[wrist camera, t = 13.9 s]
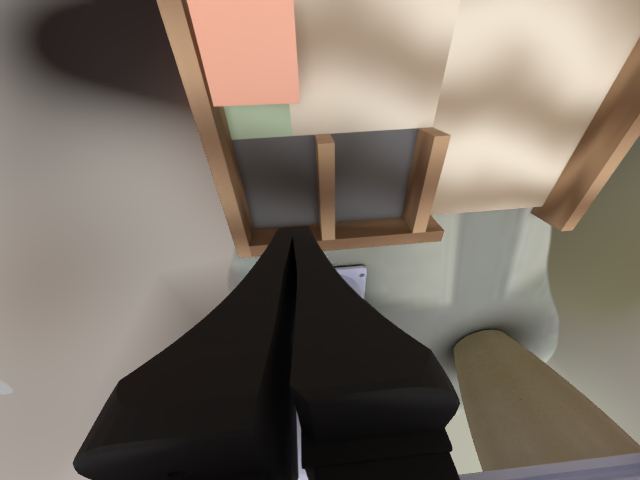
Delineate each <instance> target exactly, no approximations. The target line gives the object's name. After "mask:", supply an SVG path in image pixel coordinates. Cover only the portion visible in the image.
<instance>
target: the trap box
mask: <svg viewBox="0 0 640 480" xmlns="http://www.w3.org/2000/svg"><path fill="white" fill-rule="evenodd" d="M293 1H294V16H295V32H296V47H297V62H298V77H299V92H300V103H289V104H265V105H240V106H215V107H214V105H213V102H212V98H211V94H210V90H209V86H208V82H207V78H206V74H205V70H204V66H203V62H202V58H201V54H200V51H199V47H198V43H197V39H196V35H195V31H194V27H193V23H192V19H191V15H190V11H189V7H188V3H187V0H157V4H158V7H159V9H160V13H161V16H162V19H163V22H164V25H165V28H166V32H167V35H168V38H169V41H170V44H171V47H172V51H173V54H174V57H175V60H176V63H177V66H178V69H179V72H180V75H181V78H182V82H183V85H184V88H185V91H186V94H187V97H188V101H189V104H190V107H191V110H192V113H193V116H194V119H195V123H196V126H197V129H198V132H199V135H200V138H201V141H202V144H203V148H204V151H205V154H206V157H207V160H208V163H209V166H210V169H211V172H212V175H213V179H214V182H215V185H216V188H217V191H218V194H219V198H220V201H221V204H222V207H223V210H224V213H225V216H226V219H227V223H228V226H229V229H230V232H231V235H232V238H233V241H234V245H235V248H236V251H237V254H238V257H239V258H241V257H253V256H261V255H262V254H263V252H264V251H265V249H266V248H267V246H268V245H269V243H270V241H271V240H272V238H273V236H274V234H275V233H276V231H277V230H278V229H279V228H286V227H299V226H310V227H311V229H312V232H313V235H314V237H315V239H316V241H317V243H318V244H319V246H320V248H321V249H322V251H326V250H338V249H351V248H363V247H375V246H387V245H399V244H411V243H423V242H436V241H441V239H442V236H443V233H444V230H443V229H442V228H441V226H440V225H439V224H438V223H437V222H436V221H435V220H434V219H433V218H432V217H431V215H438V214H451V213H464V212H477V211H490V210H503V209H516V208H529V207H534V209H533V211H532V214H534V215H535V216H537V217H538V218H540V219H542V220H543V221H545V222H547V223H548V224H550V225H551V226H553V227H555V228H556V229H558V230H560V231H569V230H573V229H574V227H575V226H576V224H577V223H578V222H579V220H580V219H581V217H582V216H583V214H584V213H585V212H586V210H587V209H588V207H589V206H590V205H591V203H592V202H593V200H594V199H595V197H596V196H597V195H598V193H599V192H600V190H601V189H602V187H603V186H604V185H605V183H606V182H607V180H608V179H609V178H610V176H611V175H612V173H613V172H614V170H615V169H616V168H617V166H618V165H619V163H620V162H621V161H622V159H623V158H624V156H625V155H626V153H627V152H628V151H629V149H630V148H631V146H632V145H633V144H634V142H635V140H636V139H637V138H638V136H639V135H640V0H293Z"/></svg>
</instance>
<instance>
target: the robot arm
mask: <svg viewBox="0 0 640 480" xmlns="http://www.w3.org/2000/svg"><path fill="white" fill-rule="evenodd" d="M362 273H363V274H362ZM366 276H367V269H366V267H365V266H351V267H339V268H334V267H333V265H332V264H331V263H330V261H329V260H328V259H327V257H326V256H325V254H324V253H323V251H322V249H321V248H320V246H319V244H318V243H317V241H316V239H315V237H314V235H313V232H312V229H311V227H310V226H299V227H286V228H279V229H278V230H277V231H276V233H275V234H274V236H273V238H272V240H271V241H270V243H269V245H268V246H267V248H266V249H265V251H264V252H263V254H262V255H261V257H260V258H259V260H258V261H257V262H256V264H255V265H254V266H253V267H252V269H251V270H250V271H249V273H248V274H247V275H246V276H245V278H244V279H243V280H242V281H241V282H240V283H239V285H238V286H237V287H236V288H235V289H234V290H233V291H232V292H231V293H230V294H229V295H228V296H227V297H226V298H225V299H224V300H223V301H222V302H221V303H220V304H219V305H218V306H217V307H216V308H215V309H214V310H213V311H212V312H210V314H208V315H207V316H206V317H205V318H204V319H203V320H201V321H200V322H199V323H198V324H197V325H195V326H194V327H193V328H192V329H190V330H189V331H188V332H187V333H185V334H184V335H183V336H182V337H180V338H179V339H178V340H177V341H175V342H174V343H173V344H171V345H170V346H169V347H167V348H166V349H165V350H163V351H162V352H160V353H159V354H157V355H156V356H155V357H153V358H152V359H150V360H149V361H147V362H146V363H145V364H143V365H142V366H140V367H139V368H137V369H136V370H134V371H133V372H132V373H130V374H129V375H127V376H126V377H124V378H123V379H121V380H120V381H119V382H118V384H117V386H116V387H115V388H114V390H113V392H112V393H111V395H110V397H109V398H108V400H107V402H106V403H105V405H104V407H103V409H102V410H101V412H100V414H99V416H98V417H97V419H96V421H95V423H94V425H93V426H92V428H91V430H90V432H89V433H88V435H87V437H86V439H85V441H84V442H83V444H82V446H81V448H80V449H79V452H78V453H77V455H76V457H75V459H74V461H73V465H74V468H75V470H76V471H77V472H78V474H80V475H82V476H84V477H86V478H88V479H91V480H640V453H633V454H625V455H617V456H608V457H600V458H592V459H584V460H576V461H568V462H560V463H551V464H543V465H535V466H527V467H519V468H511V469H502V470H494V471H486V472H478V473H470V474H462V475H458V473H457V470H456V468H455V465H454V463H453V460H452V458H451V455H450V452H451V451H452V445H451V442H450V440H449V437H448V435H447V432H446V430H445V427H446V425H447V424H448V423H449V421H450V420H451V419H452V418H453V416H454V415H455V414H456V412H457V409H458V407H459V404H460V402H459V398H458V396H457V394H456V392H455V389H454V387H453V385H452V383H451V381H450V379H449V378H448V376H447V374H446V373H445V371H444V370H443V368H442V366H441V365H440V363H439V362H438V360H437V359H436V357H435V356H434V354H433V353H432V351H431V350H430V349H429V348H427V347H426V346H424V345H423V344H421V343H420V342H418V341H417V340H415V339H414V338H412V337H411V336H409V335H408V334H407V333H405V332H404V331H402V330H401V329H400V328H398V327H397V326H396V325H394V324H393V323H392V322H390V321H389V320H388V319H386V318H385V317H384V316H383V315H381V314H380V313H379V312H378V311H377V310H376V309H374V308H373V307H372V306H371V305H370V304H369V303H368V302H366V301H365V300H364V295H365V286H366Z"/></svg>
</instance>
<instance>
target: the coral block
mask: <svg viewBox="0 0 640 480" xmlns="http://www.w3.org/2000/svg"><path fill="white" fill-rule="evenodd" d="M187 3H188V7H189V11H190V15H191V19H192V23H193V27H194V31H195V35H196V39H197V43H198V47H199V51H200V54H201V58H202V62H203V66H204V70H205V74H206V78H207V82H208V86H209V90H210V94H211V98H212V102H213V105H214V107H215V106H240V105H265V104H289V103H300V92H299V77H298V62H297V47H296V32H295V16H294V1H293V0H187Z"/></svg>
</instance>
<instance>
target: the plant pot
mask: <svg viewBox="0 0 640 480" xmlns="http://www.w3.org/2000/svg"><path fill="white" fill-rule="evenodd" d="M454 358H455V365H456V371H457V377H458V382H459V387H460V392H461V397H462V401H463V405H464V409H465V413H466V417H467V421H468V424H469V428H470V432H471V435H472V439H473V442H474V445H475V449H476V452H477V455H478V458H479V461H480V464H481V467H482V470H483V472H486V471H494V470H502V469H511V468H519V467H527V466H535V465H543V464H551V463H560V462H568V461H576V460H584V459H592V458H600V457H608V456H617V455H625V454H633V453H640V445H639V444H638V443H636V442H635V441H634V440H633V439H632V438H631V437H630V436H629V435H628V434H627V433H626V432H625V431H624V430H623V429H622V428H621V427H619V426H618V425H617V424H616V423H615V422H614V421H613V420H612V419H611V418H609V417H608V416H607V415H606V414H605V413H604V412H603V411H602V410H601V409H600V408H598V407H597V406H596V405H595V404H593V402H592V401H590V400H589V399H588V398H587V397H586V396H585V395H583V394H582V393H581V392H580V391H579V390H577V389H576V388H575V387H574V386H573V385H571V384H570V383H569V382H568V381H567V380H566V379H564V378H563V377H562V376H560V375H559V374H558V373H557V372H555V371H554V370H553V369H552V368H550V367H549V366H548V365H547V364H546V363H544V362H543V361H542V360H540V359H539V358H538V357H537V356H535V355H534V354H533V353H531V352H530V351H529V350H527V349H526V348H525V347H523V346H522V345H520V344H519V343H518V342H516V341H515V340H513V339H512V338H511V337H509V336H508V335H506V334H505V333H503V332H502V331H499V330H483V331H479V332H476V333H473V334H470V335H468V336H466V337H464V338H463V339H461V340H460V341H459V342H458V343H457V344H456V345H455V347H454Z"/></svg>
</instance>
